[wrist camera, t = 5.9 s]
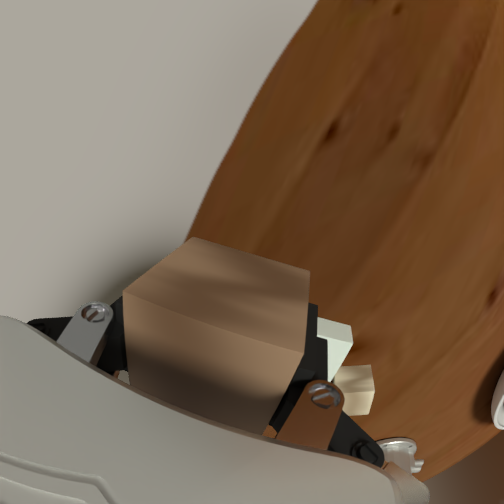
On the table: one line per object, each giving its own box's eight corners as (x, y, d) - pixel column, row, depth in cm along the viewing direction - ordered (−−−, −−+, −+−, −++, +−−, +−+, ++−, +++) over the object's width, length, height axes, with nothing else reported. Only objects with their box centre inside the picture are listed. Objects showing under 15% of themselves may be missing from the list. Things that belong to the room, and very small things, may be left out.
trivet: (350, 325, 27) (353, 343, 25) (314, 390, 32) (313, 408, 29) (250, 297, 28) (243, 313, 26) (231, 368, 33) (225, 384, 30)
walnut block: (310, 271, 11) (304, 353, 6) (277, 359, 13) (256, 444, 8) (193, 236, 12) (122, 290, 7) (181, 328, 13) (131, 396, 9)
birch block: (370, 364, 29) (374, 391, 25) (365, 388, 30) (368, 414, 26) (334, 366, 30) (335, 393, 26) (332, 390, 31) (331, 416, 27)
